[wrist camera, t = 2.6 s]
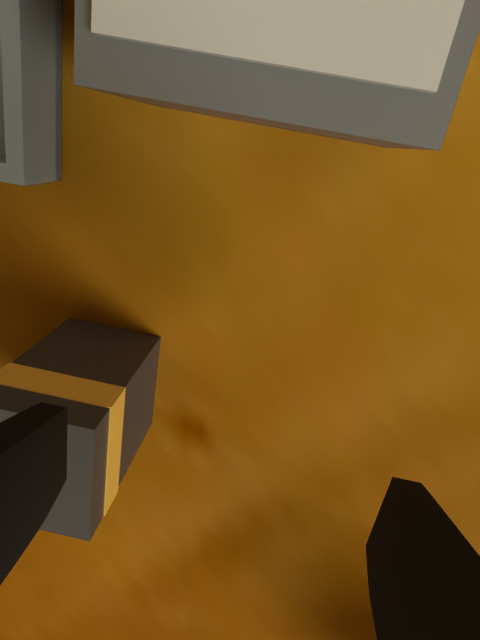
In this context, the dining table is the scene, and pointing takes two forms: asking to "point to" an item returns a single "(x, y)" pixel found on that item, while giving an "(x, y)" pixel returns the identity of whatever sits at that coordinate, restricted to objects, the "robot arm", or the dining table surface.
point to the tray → (30, 91)
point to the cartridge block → (88, 410)
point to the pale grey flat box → (287, 62)
